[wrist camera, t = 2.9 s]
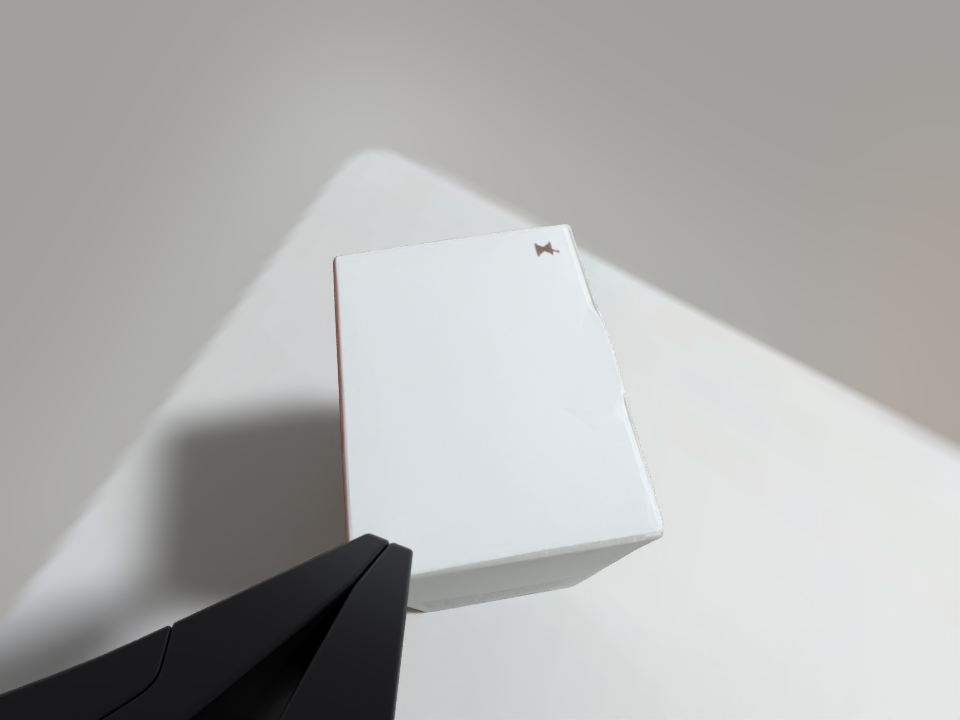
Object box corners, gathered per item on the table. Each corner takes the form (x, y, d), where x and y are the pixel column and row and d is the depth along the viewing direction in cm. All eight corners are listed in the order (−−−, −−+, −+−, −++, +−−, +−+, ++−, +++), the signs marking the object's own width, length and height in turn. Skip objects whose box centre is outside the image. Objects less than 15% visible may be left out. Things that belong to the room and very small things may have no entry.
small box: (402, 429, 25) (328, 247, 13) (534, 407, 25) (574, 214, 14) (421, 618, 21) (342, 594, 10) (576, 590, 22) (679, 533, 10)
